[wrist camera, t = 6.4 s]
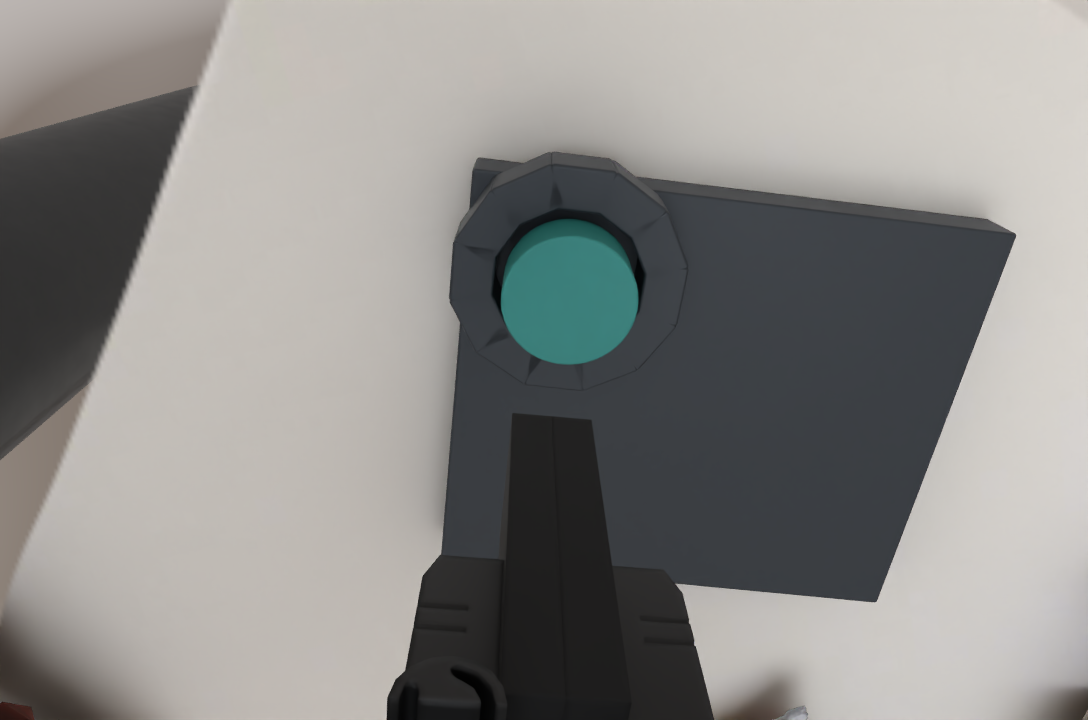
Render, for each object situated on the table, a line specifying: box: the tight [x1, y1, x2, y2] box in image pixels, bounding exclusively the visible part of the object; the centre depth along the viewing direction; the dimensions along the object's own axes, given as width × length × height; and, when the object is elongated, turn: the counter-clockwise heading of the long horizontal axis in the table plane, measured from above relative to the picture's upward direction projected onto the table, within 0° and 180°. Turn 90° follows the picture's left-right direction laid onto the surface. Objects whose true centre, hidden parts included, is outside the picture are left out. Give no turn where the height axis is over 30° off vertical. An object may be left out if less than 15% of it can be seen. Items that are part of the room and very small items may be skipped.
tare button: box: [501, 219, 638, 365], centre depth 21 cm, size 4×4×2 cm
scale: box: [441, 152, 1016, 602], centre depth 26 cm, size 16×15×4 cm
